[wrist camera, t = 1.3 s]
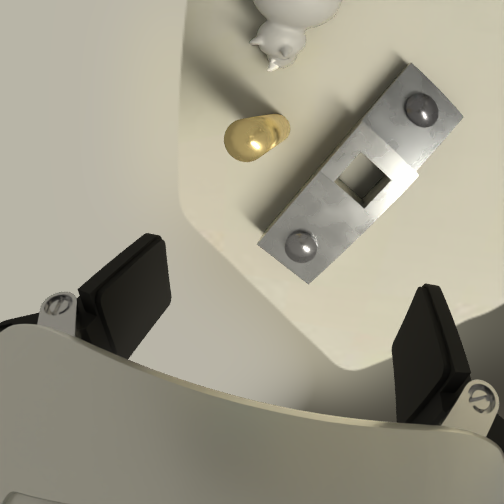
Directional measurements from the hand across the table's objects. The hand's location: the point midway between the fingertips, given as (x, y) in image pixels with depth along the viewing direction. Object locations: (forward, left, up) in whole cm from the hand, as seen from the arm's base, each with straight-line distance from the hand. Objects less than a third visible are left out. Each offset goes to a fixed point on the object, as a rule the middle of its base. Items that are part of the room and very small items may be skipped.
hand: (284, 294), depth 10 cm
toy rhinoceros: (-15, -4, -21) cm, 26 cm away
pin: (-3, -5, -21) cm, 22 cm away
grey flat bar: (0, +4, -21) cm, 21 cm away
